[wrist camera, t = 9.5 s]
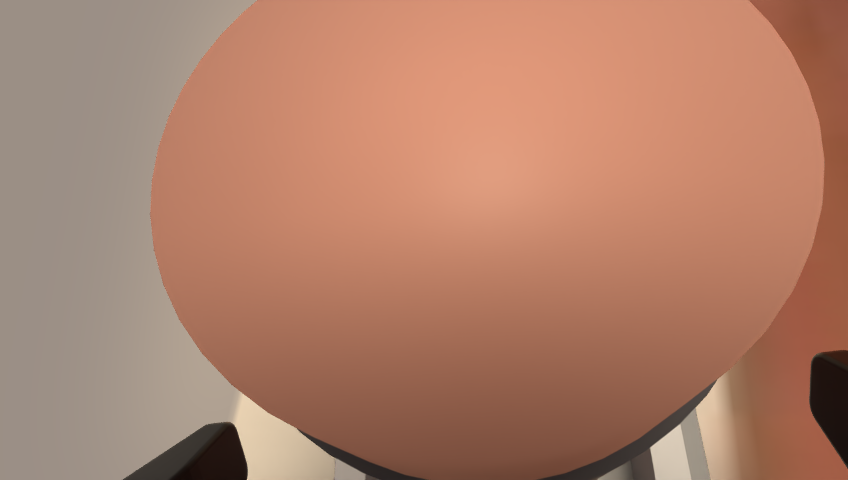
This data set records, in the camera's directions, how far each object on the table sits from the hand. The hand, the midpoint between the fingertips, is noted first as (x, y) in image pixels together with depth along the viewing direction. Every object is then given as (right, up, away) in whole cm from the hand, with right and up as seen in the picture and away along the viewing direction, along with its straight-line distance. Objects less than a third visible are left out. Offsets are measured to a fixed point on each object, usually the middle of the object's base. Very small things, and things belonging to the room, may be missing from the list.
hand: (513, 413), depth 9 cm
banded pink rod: (+1, -3, +8) cm, 8 cm away
